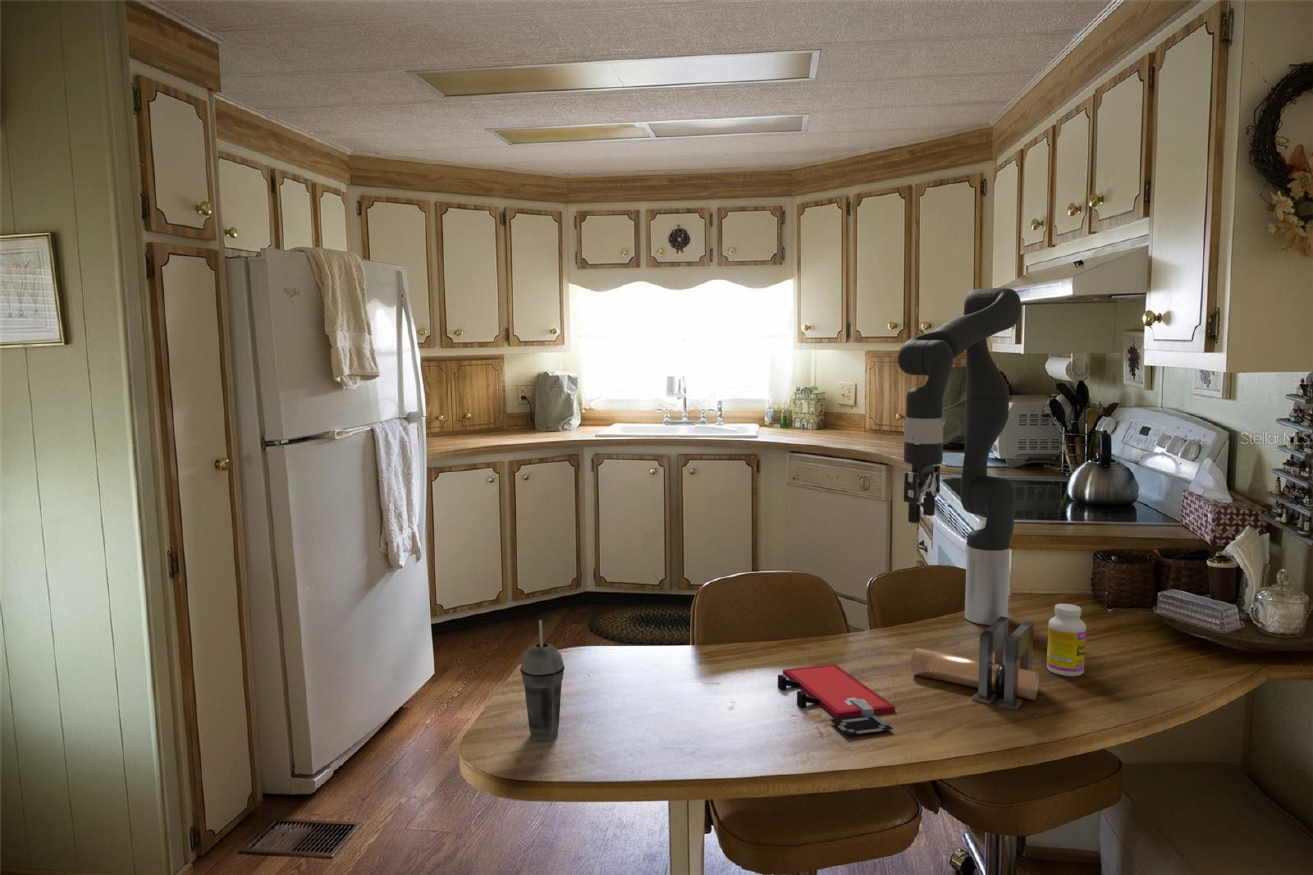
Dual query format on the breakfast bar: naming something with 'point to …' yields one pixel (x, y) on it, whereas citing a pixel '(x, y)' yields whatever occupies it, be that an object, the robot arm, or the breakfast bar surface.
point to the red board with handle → (838, 697)
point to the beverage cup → (543, 688)
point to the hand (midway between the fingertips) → (921, 519)
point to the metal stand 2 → (1016, 663)
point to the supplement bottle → (1066, 641)
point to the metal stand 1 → (991, 657)
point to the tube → (969, 672)
